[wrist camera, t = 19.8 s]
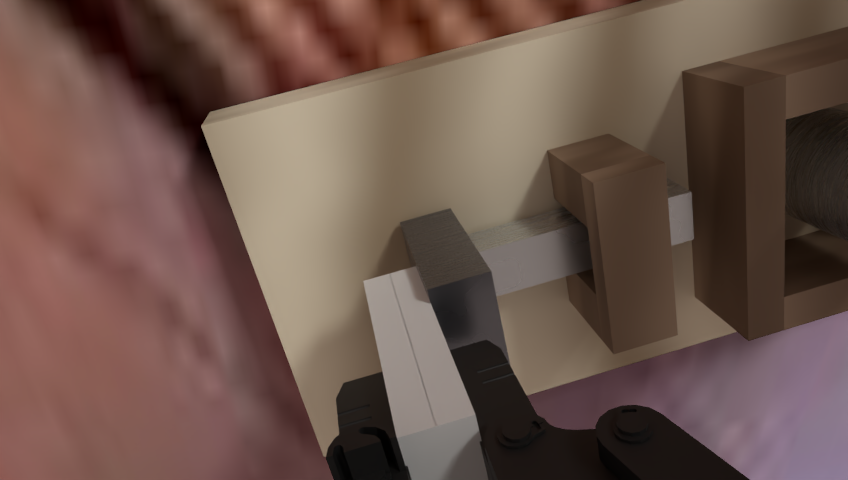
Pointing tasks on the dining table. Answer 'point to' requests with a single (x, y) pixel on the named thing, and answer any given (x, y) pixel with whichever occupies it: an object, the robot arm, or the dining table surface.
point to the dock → (551, 184)
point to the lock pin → (505, 262)
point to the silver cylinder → (818, 170)
